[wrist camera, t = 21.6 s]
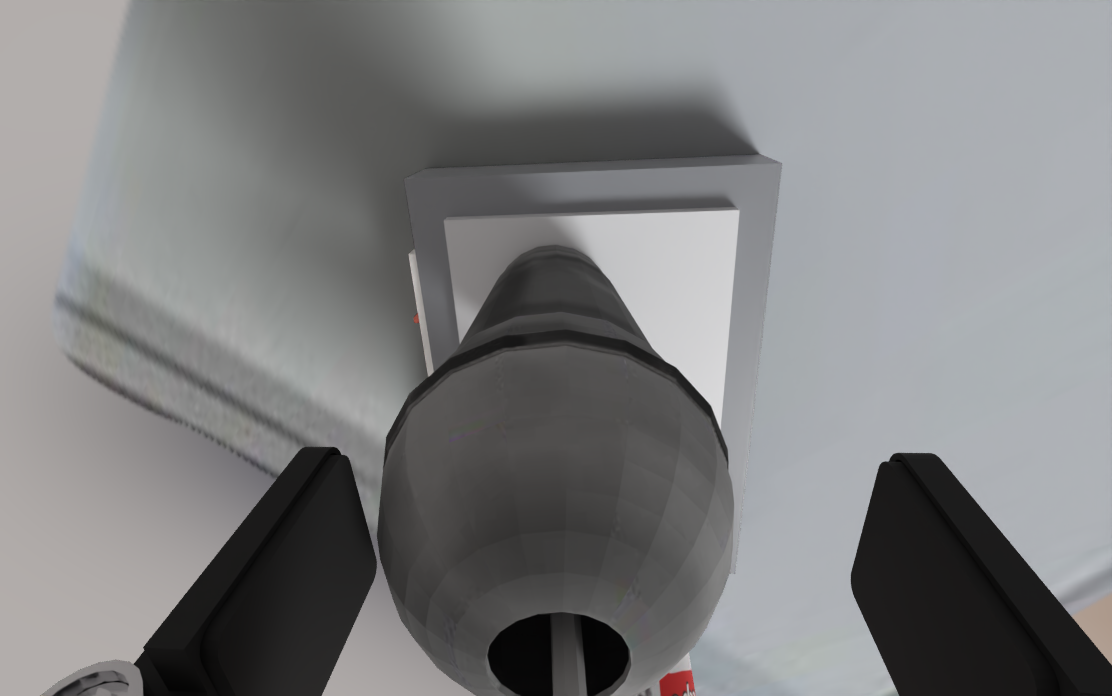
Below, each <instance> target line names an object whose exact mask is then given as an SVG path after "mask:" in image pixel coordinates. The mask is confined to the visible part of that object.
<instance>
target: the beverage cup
mask: <svg viewBox="0 0 1112 696" xmlns="http://www.w3.org/2000/svg"><path fill="white" fill-rule="evenodd" d="M728 464H729V460H728V449H727V446H726V443H725V441H724V438H723V436H722V433H721V430H720V428H719V425H718V422H717V420H716V417H715V415H714V412H713V409H712V407H711V405H710V404H709V403H708V402H707V401H706V400H705V398H704V397H703V396H702V395H701V394H700V393H699V392H698V391H697V390H696V389H695V387H694V386H693V385H692V384H691V383H690V382H689V381H688V380H687V379H686V378H685V377H684V375H683V374H682V373H681V372H680V371H679V370H678V369H677V368H676V367H675V366H673V365H671V364H669V363H667V362H665V361H664V359H663V358H662V357H661V356H660V355H659V354H658V353H657V352H656V351H655V350H654V349H653V348H652V347H651V345H650V344H649V342H648V340H647V339H646V337H645V336H644V334H643V332H642V331H641V329H640V328H639V326H638V324H637V323H636V321H635V320H634V318H633V316H632V315H631V313H630V312H629V310H628V308H627V307H626V305H625V304H624V302H623V300H622V299H621V297H620V296H619V294H618V292H617V291H616V289H615V288H614V286H613V284H612V283H611V281H610V280H609V279H608V278H607V277H606V276H605V274H604V273H603V272H602V271H601V269H600V268H599V267H598V266H597V265H596V264H595V263H594V262H593V261H592V259H591V258H590V257H588V256H586V255H584V254H583V253H581V252H579V251H577V250H576V249H573V248H569V247H564V246H559V245H550V246H541V247H536V248H534V249H531V250H529V251H527V252H525V253H523V254H520V255H519V256H518V257H517V258H516V259H515V260H514V261H513V262H512V263H510V264H509V265H508V266H507V268H506V270H505V271H504V272H503V273H502V274H501V275H500V276H499V278H498V280H497V281H496V283H495V285H494V286H493V288H492V290H491V292H490V293H489V295H488V297H487V298H486V300H485V302H484V304H483V305H482V307H481V309H480V310H479V312H478V314H477V316H476V317H475V319H474V321H473V323H472V324H471V326H470V328H469V329H468V331H467V333H466V335H465V336H464V338H463V340H462V341H461V343H460V345H459V347H458V348H457V350H456V351H455V352H454V353H453V354H452V355H451V356H450V357H449V358H447V359H446V360H445V361H444V362H443V363H442V364H441V365H440V366H439V367H438V368H437V369H436V370H435V371H434V372H433V373H432V374H431V375H430V376H429V377H428V378H427V379H426V380H424V381H423V382H422V383H421V384H420V385H419V386H418V387H416V388H415V389H414V390H413V391H412V392H411V393H410V394H409V395H408V397H407V399H406V401H405V403H404V405H403V407H402V409H401V410H400V412H399V414H398V416H397V418H396V420H395V422H394V424H393V425H392V427H391V429H390V431H389V433H388V435H387V437H386V446H385V456H384V466H383V476H382V487H381V497H380V507H379V518H378V531H377V539H378V546H379V553H380V560H381V563H382V566H383V569H384V572H385V575H386V579H387V582H388V585H389V588H390V591H391V594H392V597H393V600H394V603H395V605H396V608H397V611H398V613H399V616H400V619H401V621H402V622H403V624H404V625H405V627H406V628H407V629H408V631H409V632H410V634H411V635H412V637H413V638H414V639H415V641H416V642H417V643H418V644H419V646H420V647H421V648H422V649H423V650H424V652H425V653H426V654H427V655H428V657H429V658H430V659H431V660H432V662H433V663H434V664H435V665H436V667H437V668H439V669H440V670H441V671H442V672H443V673H445V674H446V675H447V676H448V677H450V678H451V679H452V680H453V681H455V682H457V683H458V684H460V685H461V686H463V687H464V688H466V689H467V690H469V691H470V692H472V693H473V694H475V695H476V696H636V695H637V694H639V693H641V692H643V691H644V690H646V689H648V688H650V687H652V686H653V685H655V684H656V683H657V682H658V681H659V680H661V679H662V678H663V677H664V676H665V675H666V674H668V673H669V672H670V671H671V670H672V669H673V668H674V667H675V666H676V665H677V664H678V663H679V661H680V660H681V659H682V658H683V657H684V656H685V655H686V654H687V653H688V652H689V651H690V650H691V649H692V648H693V647H694V646H695V645H696V643H697V641H698V640H699V638H700V637H701V635H702V634H703V632H704V631H705V629H706V627H707V625H708V623H709V621H710V619H711V617H712V614H713V612H714V610H715V608H716V606H717V604H718V601H719V599H720V597H721V595H722V593H723V590H724V587H725V584H726V581H727V578H728V576H729V573H730V569H731V560H732V551H733V529H734V496H733V487H732V481H731V478H730V475H729V472H728Z"/></svg>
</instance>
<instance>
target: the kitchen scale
mask: <svg viewBox="0 0 1112 696" xmlns="http://www.w3.org/2000/svg"><path fill="white" fill-rule="evenodd" d="M781 169H782V163H780V162H778V161H775V160H773V159H770V158H768V157H766V156H763V155H761V154H757V155H733V156H709V157H686V158H662V159H639V160H615V161H592V162H568V163H545V164H521V165H498V166H474V167H451V168H427V169H424V170H421V171H419V172H417V173H415V174H413V175H411V176H409V177H407V178H404V184H405V190H406V196H407V203H408V209H409V216H410V222H411V228H412V235H413V241H414V248H415V249H413V250H412V251H411V252H410V253H409V254H408V255H409V261H410V267H411V274H412V280H413V286H414V292H415V298H416V305H417V311H418V313H417V314H416V315H415V317H414V323H420V329H421V335H422V342H423V348H424V354H425V360H426V366H427V373H428V377H429V376H430V375H431V374H432V373H433V372H434V371H435V370H436V369H437V368H438V367H439V366H440V365H441V364H442V363H443V362H444V361H445V360H446V359H447V358H449V357H450V356H451V355H452V354H453V353H454V352H455V351H456V350H457V348H458V347H459V345H460V343H461V341H462V340H463V338H464V336H465V335H466V333H467V331H468V329H469V328H470V326H471V324H472V323H473V321H474V319H475V317H476V316H477V314H478V312H479V310H480V309H481V307H482V305H483V304H484V302H485V300H486V298H487V297H488V295H489V293H490V292H491V290H492V288H493V286H494V285H495V283H496V281H497V280H498V278H499V276H500V275H501V274H502V273H503V272H504V271H505V270H506V268H507V266H508V265H509V264H510V263H512V262H513V261H514V260H515V259H516V258H517V257H518V256H519V255H520V254H523V253H525V252H527V251H529V250H531V249H534V248H536V247H541V246H550V245H559V246H564V247H569V248H573V249H576V250H577V251H579V252H581V253H583V254H584V255H586V256H588V257H590V258H591V259H592V261H593V262H594V263H595V264H596V265H597V266H598V267H599V268H600V269H601V271H602V272H603V273H604V274H605V276H606V277H607V278H608V279H609V280H610V281H611V283H612V284H613V286H614V288H615V289H616V291H617V292H618V294H619V296H620V297H621V299H622V300H623V302H624V304H625V305H626V307H627V308H628V310H629V312H630V313H631V315H632V316H633V318H634V320H635V321H636V323H637V324H638V326H639V328H640V329H641V331H642V332H643V334H644V336H645V337H646V339H647V340H648V342H649V344H650V345H651V347H652V348H653V349H654V350H655V351H656V352H657V353H658V354H659V355H660V356H661V357H662V358H663V359H664V361H665V362H667V363H669V364H671V365H673V366H675V367H676V368H677V369H678V370H679V371H680V372H681V373H682V374H683V375H684V377H685V378H686V379H687V380H688V381H689V382H690V383H691V384H692V385H693V386H694V387H695V389H696V390H697V391H698V392H699V393H700V394H701V395H702V396H703V397H704V398H705V400H706V401H707V402H708V403H709V404H710V405H711V407H712V409H713V412H714V415H715V417H716V420H717V422H718V425H719V428H720V430H721V433H722V436H723V438H724V441H725V443H726V446H727V449H728V460H729V464H728V472H729V475H730V478H731V481H732V487H733V496H734V529H733V551H732V560H731V569H730V573H729V574H735V571H736V562H737V553H738V545H739V536H740V527H741V518H742V510H743V501H744V492H745V483H746V475H747V466H748V457H749V449H750V440H751V431H752V422H753V414H754V405H755V396H756V387H757V379H758V370H759V361H760V352H761V344H762V335H763V326H764V317H765V309H766V300H767V291H768V282H769V274H770V265H771V256H772V248H773V239H774V230H775V221H776V213H777V204H778V195H779V186H780V178H781Z"/></svg>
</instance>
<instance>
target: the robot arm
mask: <svg viewBox="0 0 1112 696" xmlns="http://www.w3.org/2000/svg"><path fill="white" fill-rule="evenodd" d="M376 568H377V561H376V556H375V552H374V549H373V545H372V541H371V538H370V534H369V530H368V526H367V523H366V519H365V515H364V512H363V508H362V504H361V501H360V497H359V493H358V489H357V486H356V482H355V478H354V475H353V471H352V467H351V464H350V461H349V458H348V457H347V456H345V455H341V453H340V451H339V450H338V449H337V448H335V447H304V448H302V449H301V450H300V451H299V452H298V453H297V454H296V456H295V457H294V458H293V459H292V461H291V462H290V463H289V464H288V466H287V467H286V468H285V469H284V471H283V472H282V473H281V474H280V476H279V477H278V478H277V479H276V481H275V482H274V483H273V485H272V486H271V487H270V488H269V490H268V491H267V492H266V493H265V495H264V496H263V497H262V498H261V500H260V501H259V502H258V503H257V505H256V506H255V507H254V508H253V510H252V511H251V512H250V513H249V515H248V516H247V517H246V519H245V520H244V521H243V522H242V524H241V525H240V526H239V527H238V529H237V530H236V531H235V532H234V534H233V535H232V536H231V537H230V539H229V540H228V541H227V542H226V544H225V545H224V546H223V547H222V549H221V550H220V551H219V553H218V554H217V555H216V556H215V558H214V559H213V560H212V561H211V563H210V564H209V565H208V566H207V568H206V569H205V570H204V571H203V573H202V574H201V575H200V576H199V578H198V579H197V580H196V582H195V583H194V584H193V585H192V587H191V588H190V589H189V590H188V592H187V593H186V594H185V595H184V597H183V598H182V599H181V600H180V602H179V603H178V604H177V605H176V607H175V608H174V609H173V610H172V612H171V613H170V614H169V616H168V617H167V618H166V619H165V621H164V622H163V623H162V624H161V626H160V627H159V628H158V630H157V631H156V632H155V633H154V634H153V636H152V637H151V638H150V639H149V641H148V642H147V643H146V644H145V646H144V647H143V648H144V652H143V653H142V654H141V656H140V657H139V658H138V659H137V661H136V662H135V663H134V664H132V663H131V662H127V661H120V660H112V661H106V662H99V663H96V664H94V665H91V666H88V667H86V668H83V669H80V670H78V671H76V672H75V673H73V674H71V675H69V676H68V677H66V678H64V679H62V680H60V681H59V682H58V683H56V684H55V685H53V686H52V687H51V688H50V689H48V690H47V691H46V692H44V693H43V694H42V695H40V696H322V693H323V691H324V689H325V687H326V685H327V682H328V680H329V678H330V676H331V674H332V671H333V669H334V667H335V665H336V662H337V660H338V658H339V655H340V653H341V651H342V649H343V647H344V645H345V643H346V640H347V638H348V636H349V634H350V632H351V629H352V627H353V625H354V623H355V620H356V618H357V616H358V614H359V612H360V610H361V607H362V605H363V603H364V600H365V598H366V596H367V594H368V592H369V590H370V587H371V585H372V583H373V581H374V578H375V574H376ZM851 587H852V591H853V595H854V597H855V599H856V602H857V604H858V606H859V608H860V610H861V613H862V615H863V617H864V619H865V621H866V624H867V626H868V628H869V630H870V632H871V635H872V637H873V639H874V641H875V643H876V645H877V648H878V650H879V652H880V654H881V656H882V659H883V661H884V663H885V665H886V667H887V670H888V672H889V674H890V676H891V678H892V681H893V683H894V685H895V687H896V689H897V691H898V694H899V696H1112V665H1111V664H1110V663H1109V661H1108V660H1107V659H1106V658H1105V657H1104V655H1103V654H1102V653H1101V652H1100V651H1099V650H1098V648H1097V647H1096V646H1095V645H1094V643H1093V642H1092V641H1091V640H1090V638H1089V637H1088V636H1087V635H1086V634H1085V633H1084V631H1083V630H1082V629H1081V628H1080V627H1079V625H1078V624H1077V623H1076V622H1075V620H1074V619H1073V618H1072V617H1071V616H1070V614H1069V613H1068V612H1067V611H1066V610H1065V608H1064V607H1063V606H1062V605H1061V604H1060V602H1059V601H1058V600H1057V599H1056V598H1055V596H1054V595H1053V594H1052V593H1051V592H1050V590H1049V589H1048V588H1047V587H1046V586H1045V584H1044V583H1043V582H1042V581H1041V579H1040V578H1039V577H1038V576H1037V575H1036V573H1035V572H1034V571H1033V570H1032V569H1031V567H1030V566H1029V565H1028V564H1027V563H1026V561H1025V560H1024V559H1023V558H1022V557H1021V555H1020V554H1019V553H1018V552H1017V551H1016V549H1015V548H1014V547H1013V546H1012V545H1011V543H1010V542H1009V541H1008V540H1007V539H1006V537H1005V536H1004V535H1003V534H1002V533H1001V531H1000V530H999V529H998V528H997V527H996V525H995V524H994V523H993V522H992V520H991V519H990V518H989V517H988V516H987V514H986V513H985V512H984V511H983V510H982V508H981V507H980V506H979V505H978V504H977V502H976V501H975V500H974V499H973V498H972V496H971V495H970V494H969V493H968V492H967V490H966V489H965V488H964V487H963V486H962V484H961V483H960V482H959V481H958V480H957V478H956V477H955V476H954V475H953V474H952V472H951V471H950V470H949V469H948V468H947V466H946V465H945V464H944V463H943V461H942V460H941V459H940V458H939V457H938V456H937V455H935V454H932V453H896V454H893V455H892V457H891V458H890V460H889V462H882V463H881V464H880V466H879V469H878V473H877V477H876V480H875V484H874V488H873V492H872V496H871V499H870V503H869V507H868V511H867V515H866V519H865V522H864V526H863V530H862V534H861V538H860V541H859V545H858V549H857V553H856V557H855V561H854V564H853V568H852V572H851Z"/></svg>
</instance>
